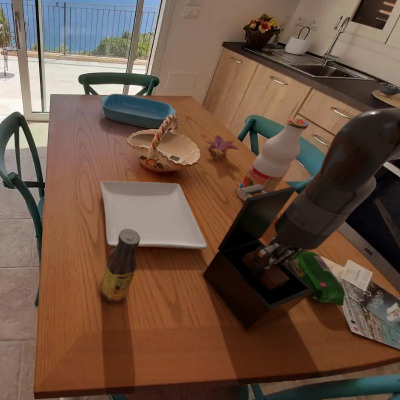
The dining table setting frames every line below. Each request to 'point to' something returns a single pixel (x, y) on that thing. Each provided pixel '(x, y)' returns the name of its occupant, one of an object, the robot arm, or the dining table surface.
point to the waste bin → (252, 287)
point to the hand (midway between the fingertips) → (262, 271)
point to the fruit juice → (275, 157)
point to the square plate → (150, 214)
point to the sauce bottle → (120, 266)
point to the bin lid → (255, 215)
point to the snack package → (318, 277)
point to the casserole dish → (136, 110)
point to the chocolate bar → (267, 273)
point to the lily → (221, 144)
